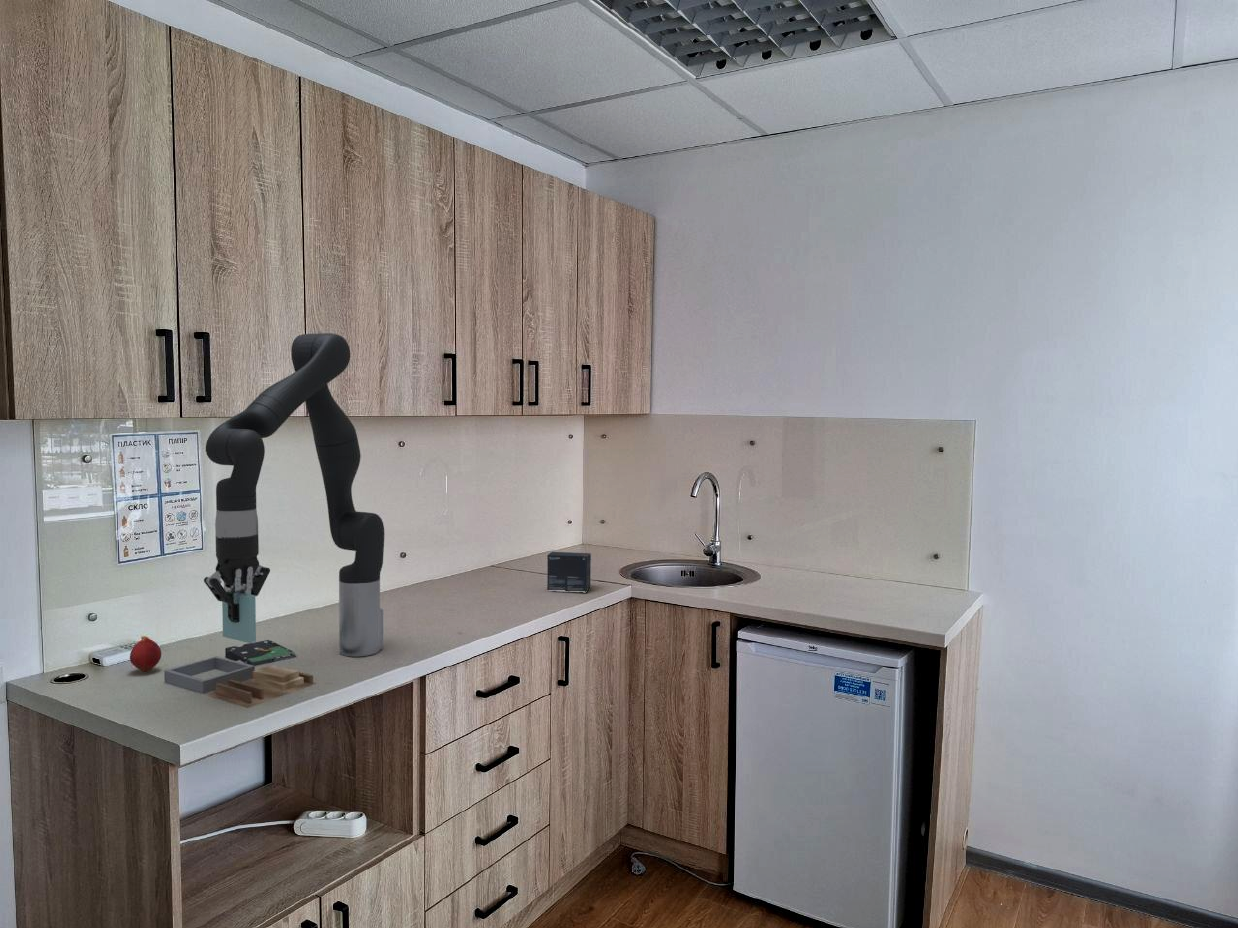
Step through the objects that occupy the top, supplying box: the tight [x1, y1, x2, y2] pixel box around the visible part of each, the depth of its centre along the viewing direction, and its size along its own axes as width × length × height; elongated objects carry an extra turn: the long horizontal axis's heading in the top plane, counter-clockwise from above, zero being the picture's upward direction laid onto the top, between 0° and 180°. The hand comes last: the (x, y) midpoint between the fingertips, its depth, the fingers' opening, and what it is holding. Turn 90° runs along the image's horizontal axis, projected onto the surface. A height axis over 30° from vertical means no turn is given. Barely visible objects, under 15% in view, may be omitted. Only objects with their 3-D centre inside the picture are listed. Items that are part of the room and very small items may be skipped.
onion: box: [129, 635, 162, 673], centre depth 177 cm, size 6×6×8 cm
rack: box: [204, 665, 317, 709], centre depth 165 cm, size 16×13×3 cm
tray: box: [163, 655, 256, 695], centre depth 170 cm, size 12×13×4 cm
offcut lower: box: [253, 677, 304, 691], centre depth 168 cm, size 5×9×1 cm, turn 61°
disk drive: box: [224, 639, 297, 667], centre depth 187 cm, size 10×3×15 cm
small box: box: [546, 551, 592, 592], centre depth 263 cm, size 13×7×12 cm, turn 81°
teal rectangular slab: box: [221, 592, 257, 644], centre depth 159 cm, size 1×8×9 cm, turn 61°
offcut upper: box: [253, 665, 300, 683], centre depth 168 cm, size 4×8×1 cm, turn 67°
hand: (238, 620), depth 159 cm, fingers closed on teal rectangular slab, 1 cm apart
